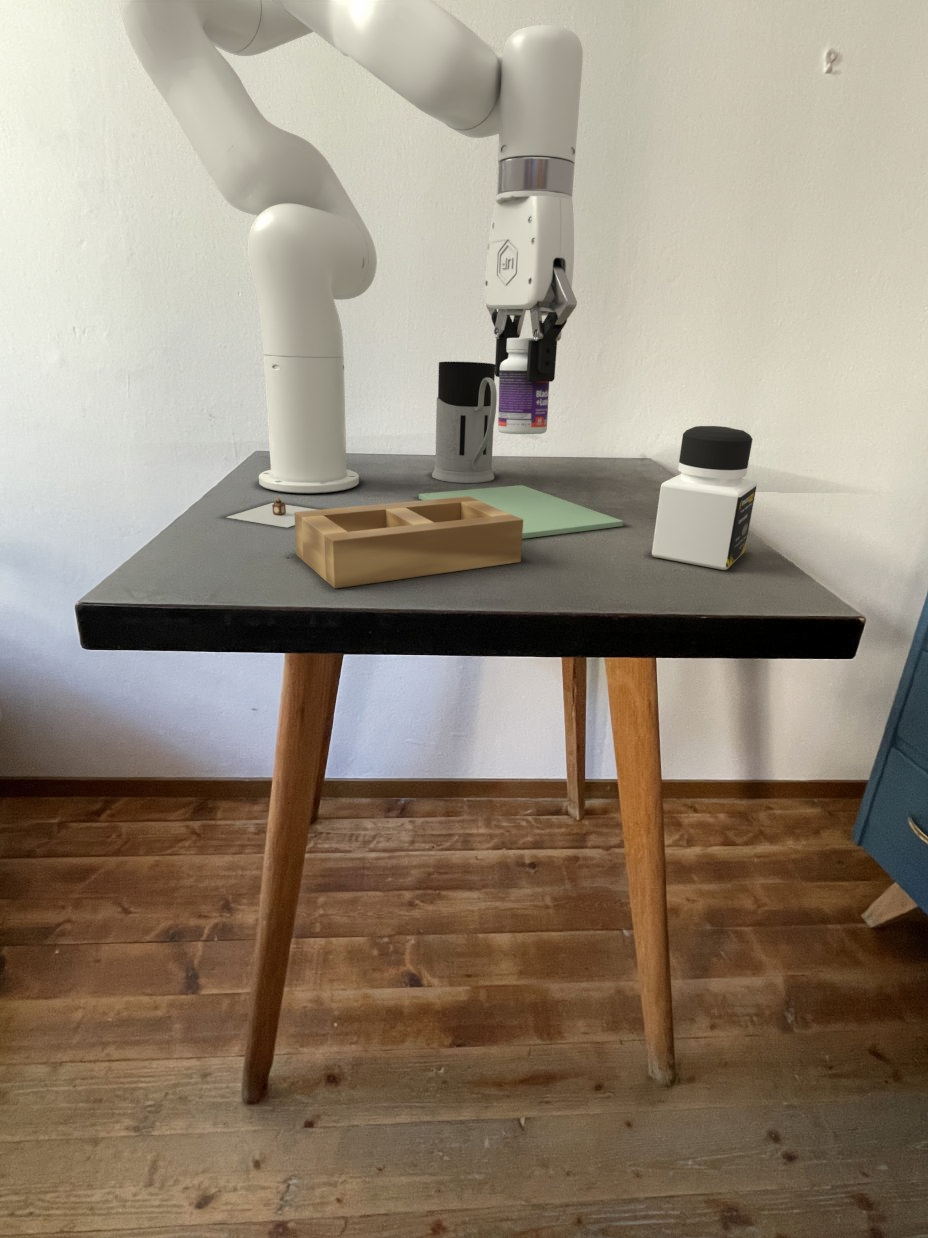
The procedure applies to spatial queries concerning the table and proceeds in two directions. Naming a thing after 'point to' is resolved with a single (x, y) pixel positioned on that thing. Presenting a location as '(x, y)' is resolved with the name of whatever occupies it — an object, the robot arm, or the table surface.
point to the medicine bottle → (707, 500)
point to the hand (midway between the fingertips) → (523, 377)
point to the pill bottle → (521, 393)
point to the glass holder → (465, 422)
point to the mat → (535, 510)
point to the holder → (405, 540)
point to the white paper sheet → (271, 514)
